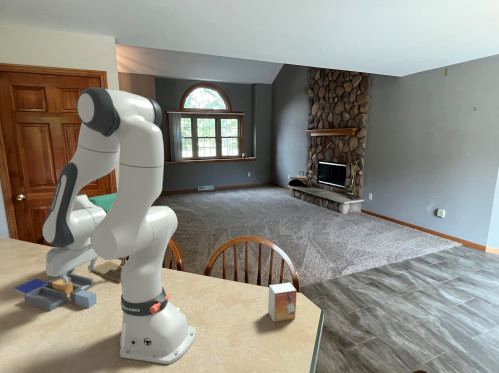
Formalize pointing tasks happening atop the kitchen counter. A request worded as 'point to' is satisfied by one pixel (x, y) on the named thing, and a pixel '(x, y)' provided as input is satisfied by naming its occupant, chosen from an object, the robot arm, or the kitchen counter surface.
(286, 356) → the kitchen counter surface
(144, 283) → the robot arm
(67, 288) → the orange plug
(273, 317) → the small box
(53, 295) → the grey compartment tray
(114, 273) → the banker's lamp
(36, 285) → the hard drive
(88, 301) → the slate-blue plug
